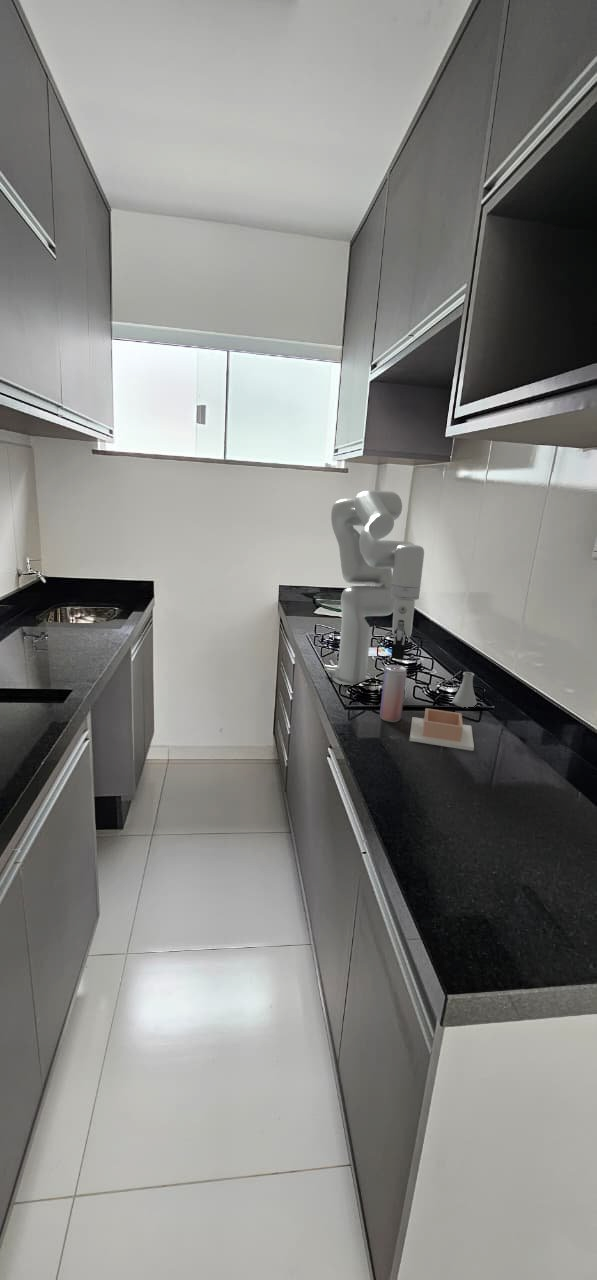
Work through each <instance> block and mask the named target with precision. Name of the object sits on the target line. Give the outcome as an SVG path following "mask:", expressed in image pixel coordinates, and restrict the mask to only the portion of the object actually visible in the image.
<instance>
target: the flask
mask: <svg viewBox="0 0 597 1280" xmlns="http://www.w3.org/2000/svg"><path fill="white" fill-rule="evenodd" d="M462 675H463V679H462V682H461V685H460V686H459V689H458V690H457V692H456V694H455V696H454V697H453V699H452V701H451V703H452V704H453V705H455V706H456V707H460V708H464V707H466V708H465V709H469V708H468V707H474V706H475V705H476V704H477V699H476V695H475V691H474V685H473V683H474V681H473V680H474V677H475V673H473V672H469V671H463V673H462ZM477 705H478V704H477ZM477 705H476V706H477ZM476 706H475V707H476ZM475 707H474V708H475Z"/></svg>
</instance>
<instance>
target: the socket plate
mask: <svg viewBox="0 0 597 1280" xmlns="http://www.w3.org/2000/svg"><path fill="white" fill-rule="evenodd" d="M424 710H425V711H424V717H423V718H422V717H415V716H412V718H411V725H410V735H409V742H414V743H421V744H428V745H435V746H441V747H447V748H452V749H453V748H454V749H459V750H466V751H474V750H475V744H474V737H473V729H472V725H471V724H470V725H468V724H463V714H462V713H461V712H453V711H448V710H447V711H446V710H442V709H440V710H439V709H433V708H427V707H426V708H425V709H424Z"/></svg>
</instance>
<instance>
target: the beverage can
mask: <svg viewBox="0 0 597 1280" xmlns="http://www.w3.org/2000/svg"><path fill="white" fill-rule="evenodd" d="M406 680H407V668H406V667H404V666H403V665H399V664H388V665H386V666H385V669H384V674H383V685H382V691H381V701H380V709H379V717H380V718H381V719H382V720H383V721H385V722H387V723H388V722H389V723H398V722H399V721H400V720H401V719H402V714H403V706H404V698H405V687H406Z"/></svg>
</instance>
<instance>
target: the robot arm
mask: <svg viewBox="0 0 597 1280" xmlns="http://www.w3.org/2000/svg"><path fill="white" fill-rule="evenodd" d="M402 511H403V502H402V499H401V497H400V495H399V494H398V493H396V492H394V491H387V490H385V491H384V490H373V489H371V490H369V489H367V490H363V491H361V492H359V493H358V494H357V495H356V496H355V497H354V498H351V497H350V498H341V499H339V500H336V502H334V504H333V505H332V508H331V513H330V514H331V517H330V519H331V527H332V530H333V533H334V535H335V538H336V541H337V544H338V549H339V558H340V567H341V573H342V574H341V575H342V578H343V579H344V581H345V582H346V583H348V584H351V585H352V584H353V585H352V586H349V587H346V588H344V589H343V591H342V593H341V595H340V607H341V608H340V609H341V627H340V641H339V653H338V663H337V665H330V664H324V671H326V673H330V674H332V678H331V679H332V681H333V682H334V683H336V684H339V685H341V684H342V685H341V686H344V685H353V684H356V683H358V682H360V681H364V680H366V679H371V676H369V675H367V673H368V661H369V653H370V652H369V651H370V645H371V644H370V643H371V632H372V631H371V626H370V625H369V622H367V620H366V619H365V618H366V617H385V616H390V615H392V635H393V636H394V637H393V643H392V646H391V654H390V655H391V656H390V658H391V659H393V660H401V661H402V660H404V659H405V657H404V656H405V650H406V647H407V639H408V638H410V637H411V636H412V633H413V632H412V631H413V623H414V613H415V603H416V602H415V601H416V600H420V591H421V585H422V578H423V577H422V575H423V568H424V567H423V566H424V559H425V558H424V557H425V549H424V548H423V546H421V545H417V544H414V543H412V542H410V541H402V540H398V541H397V540H383V539H384V538H385V537H387V536H388V535H389V534H390V533H392V531H393V529H394V526H395V521H396V520H397V519H398V518H399V517H400V515H401V514H402ZM354 526H356V527H363V528H362V529H361V532H359V531H358V530H357V529H356V528H355V527H354ZM372 585H373V586H372ZM407 637H408V638H407Z"/></svg>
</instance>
